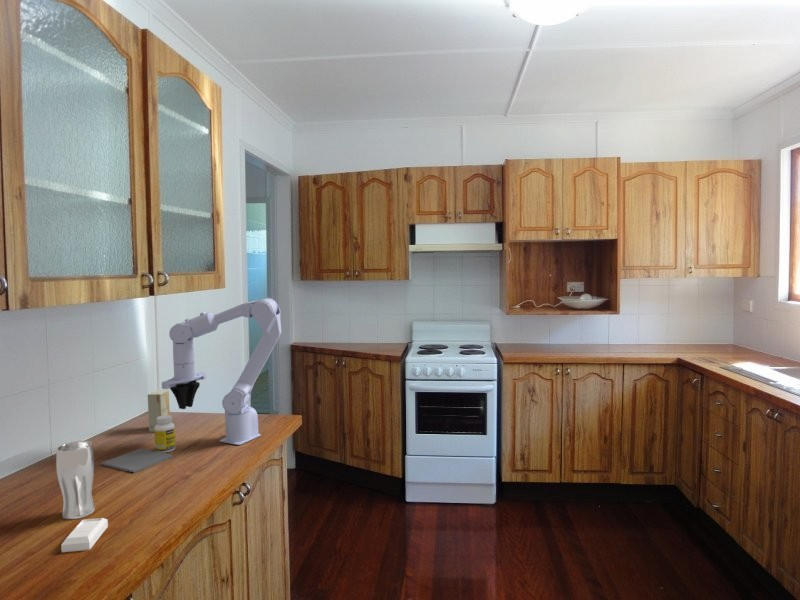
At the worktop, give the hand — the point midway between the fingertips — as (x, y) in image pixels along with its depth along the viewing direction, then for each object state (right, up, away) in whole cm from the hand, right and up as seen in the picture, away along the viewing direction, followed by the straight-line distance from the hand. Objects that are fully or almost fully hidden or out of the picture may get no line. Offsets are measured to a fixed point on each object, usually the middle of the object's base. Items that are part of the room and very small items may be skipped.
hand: (185, 407), depth 160 cm
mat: (-7, -12, -14) cm, 20 cm away
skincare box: (-14, -10, +13) cm, 21 cm away
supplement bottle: (-3, -11, -6) cm, 13 cm away
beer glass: (-6, -14, -44) cm, 46 cm away
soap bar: (+2, -16, -54) cm, 57 cm away
